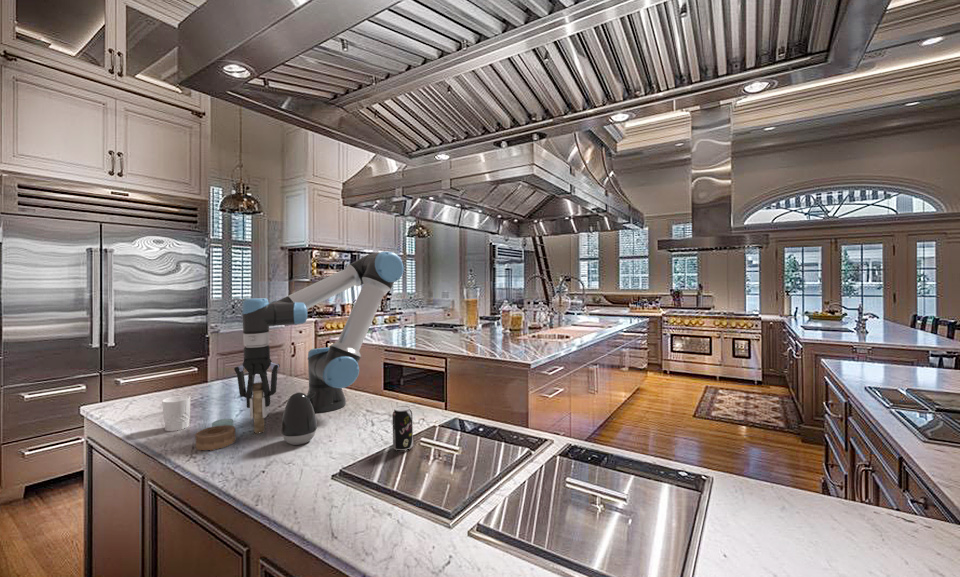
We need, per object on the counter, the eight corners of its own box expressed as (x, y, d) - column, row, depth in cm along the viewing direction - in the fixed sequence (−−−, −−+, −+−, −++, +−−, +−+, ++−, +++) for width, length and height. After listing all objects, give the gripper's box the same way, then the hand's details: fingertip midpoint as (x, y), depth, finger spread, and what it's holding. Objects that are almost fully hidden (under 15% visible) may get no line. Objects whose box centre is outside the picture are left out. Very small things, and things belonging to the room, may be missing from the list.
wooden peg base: (239, 436, 137) (239, 424, 136) (227, 448, 127) (227, 435, 127) (205, 439, 135) (204, 426, 135) (190, 452, 125) (189, 438, 125)
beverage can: (416, 445, 127) (415, 405, 126) (407, 453, 121) (406, 411, 121) (399, 443, 129) (398, 404, 128) (389, 451, 123) (388, 410, 123)
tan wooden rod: (265, 429, 142) (264, 382, 142) (263, 433, 139) (261, 384, 139) (256, 430, 142) (254, 382, 141) (253, 433, 139) (251, 385, 138)
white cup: (196, 424, 149) (195, 395, 149) (178, 432, 141) (177, 402, 141) (176, 423, 150) (175, 395, 150) (156, 431, 142) (155, 402, 142)
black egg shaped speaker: (324, 440, 132) (322, 391, 132) (290, 451, 124) (288, 399, 124) (308, 432, 139) (307, 386, 139) (275, 442, 131) (274, 393, 131)
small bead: (236, 428, 145) (235, 418, 145) (229, 434, 139) (229, 424, 139) (216, 429, 143) (216, 419, 143) (209, 436, 138) (208, 425, 138)
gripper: (225, 348, 134) (227, 422, 135) (280, 346, 138) (282, 418, 138) (234, 344, 142) (236, 415, 142) (285, 342, 145) (287, 411, 146)
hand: (259, 416), depth 140 cm, fingers closed on tan wooden rod, 3 cm apart
